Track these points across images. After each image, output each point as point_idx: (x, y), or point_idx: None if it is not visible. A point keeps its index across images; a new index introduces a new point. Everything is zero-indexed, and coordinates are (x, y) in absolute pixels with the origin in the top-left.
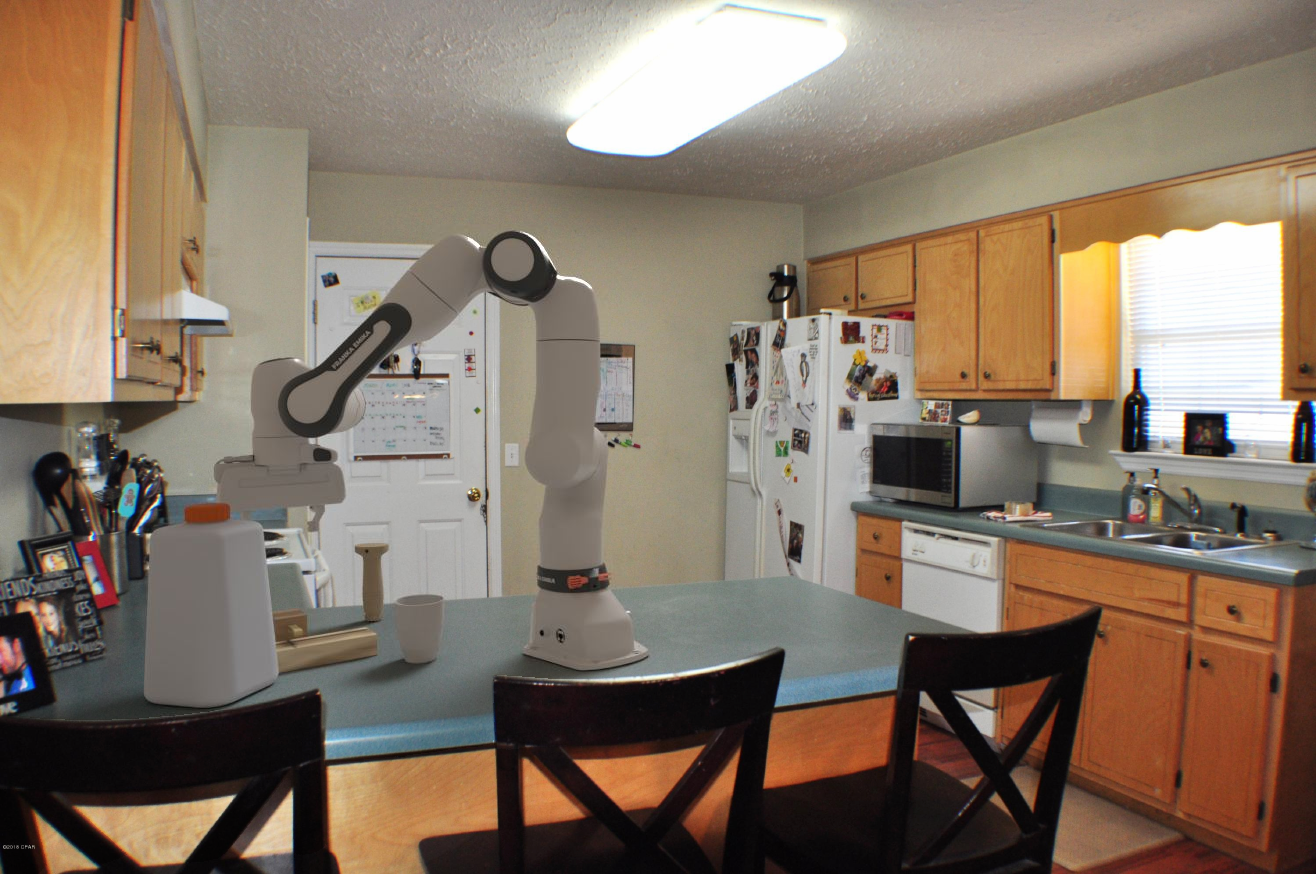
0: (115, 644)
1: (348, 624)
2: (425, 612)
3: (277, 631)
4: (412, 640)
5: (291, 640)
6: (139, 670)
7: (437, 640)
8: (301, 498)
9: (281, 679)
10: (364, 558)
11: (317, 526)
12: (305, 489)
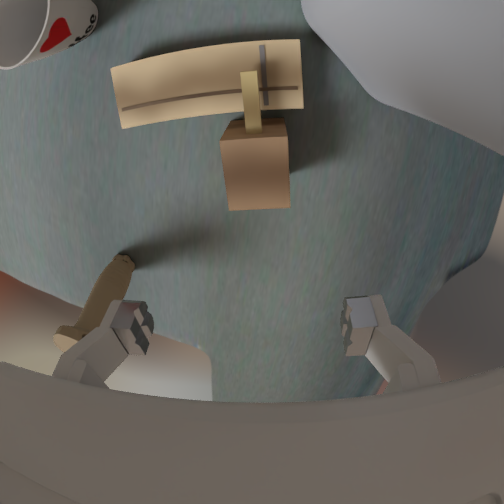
0: (418, 316)
1: (157, 261)
2: None
3: (283, 129)
4: None
5: (260, 102)
6: (445, 197)
7: (44, 4)
8: (121, 432)
9: (294, 6)
10: None
11: (110, 310)
12: (87, 473)
